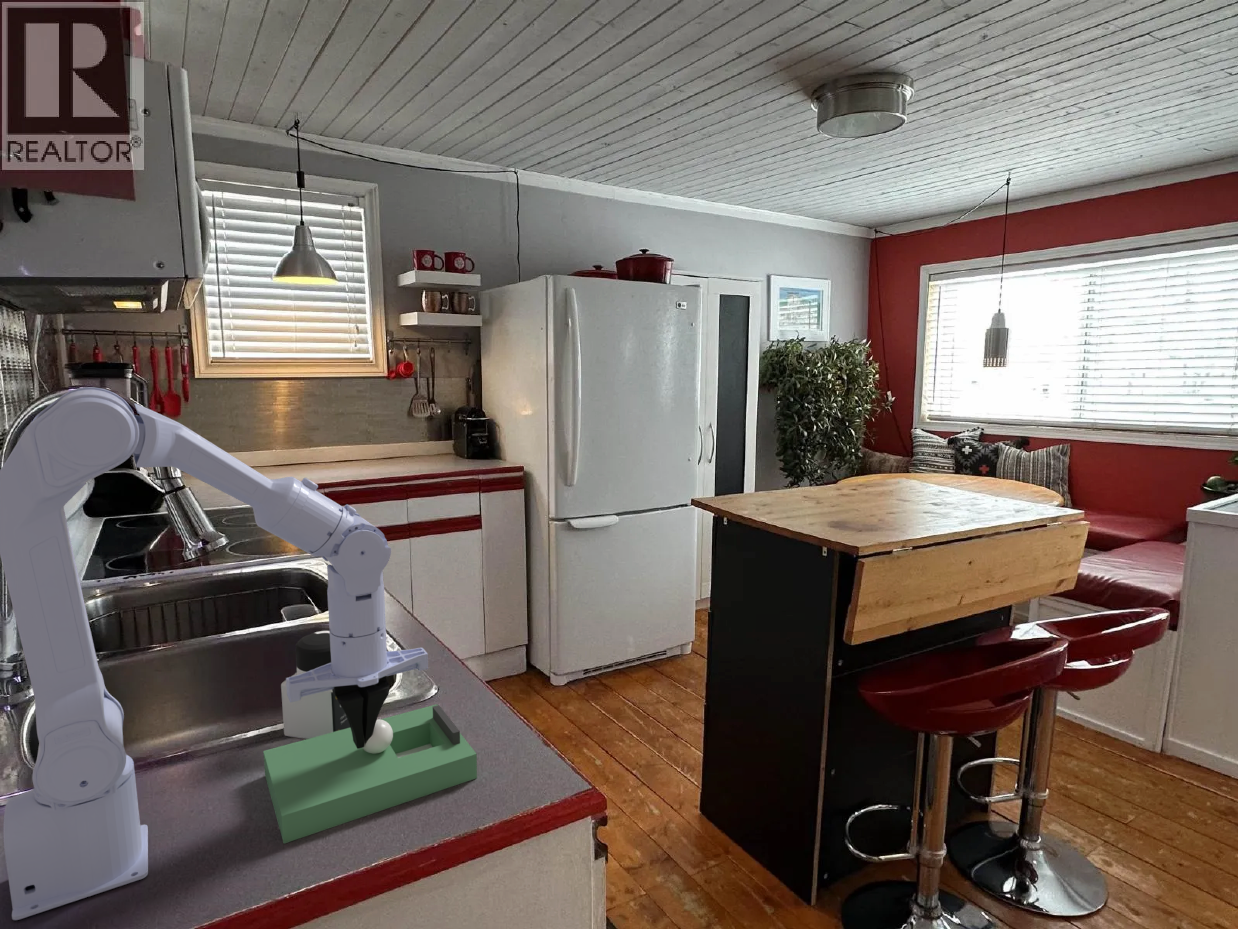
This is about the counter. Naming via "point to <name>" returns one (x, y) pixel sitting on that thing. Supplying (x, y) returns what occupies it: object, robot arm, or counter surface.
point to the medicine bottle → (316, 709)
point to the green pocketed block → (364, 772)
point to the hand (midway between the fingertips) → (363, 742)
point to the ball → (379, 738)
